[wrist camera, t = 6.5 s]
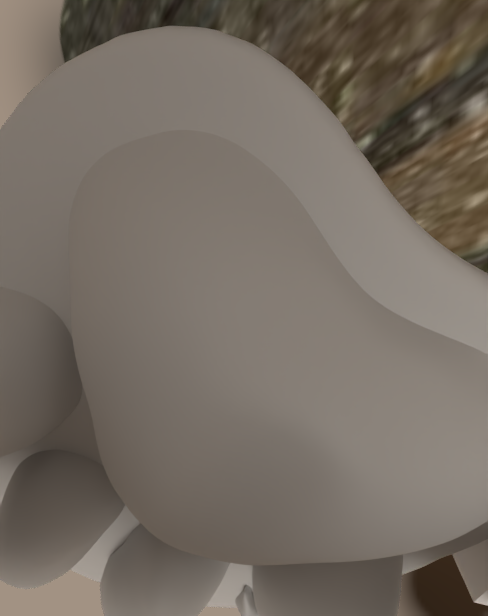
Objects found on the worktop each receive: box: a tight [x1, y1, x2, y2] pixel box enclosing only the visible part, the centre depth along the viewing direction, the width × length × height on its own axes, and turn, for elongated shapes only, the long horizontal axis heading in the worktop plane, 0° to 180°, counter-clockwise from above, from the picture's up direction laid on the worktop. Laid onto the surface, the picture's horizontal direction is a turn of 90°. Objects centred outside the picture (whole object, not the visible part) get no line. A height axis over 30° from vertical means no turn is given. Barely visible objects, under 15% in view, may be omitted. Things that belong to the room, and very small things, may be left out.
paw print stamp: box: [0, 26, 488, 616], centre depth 8 cm, size 10×13×9 cm
